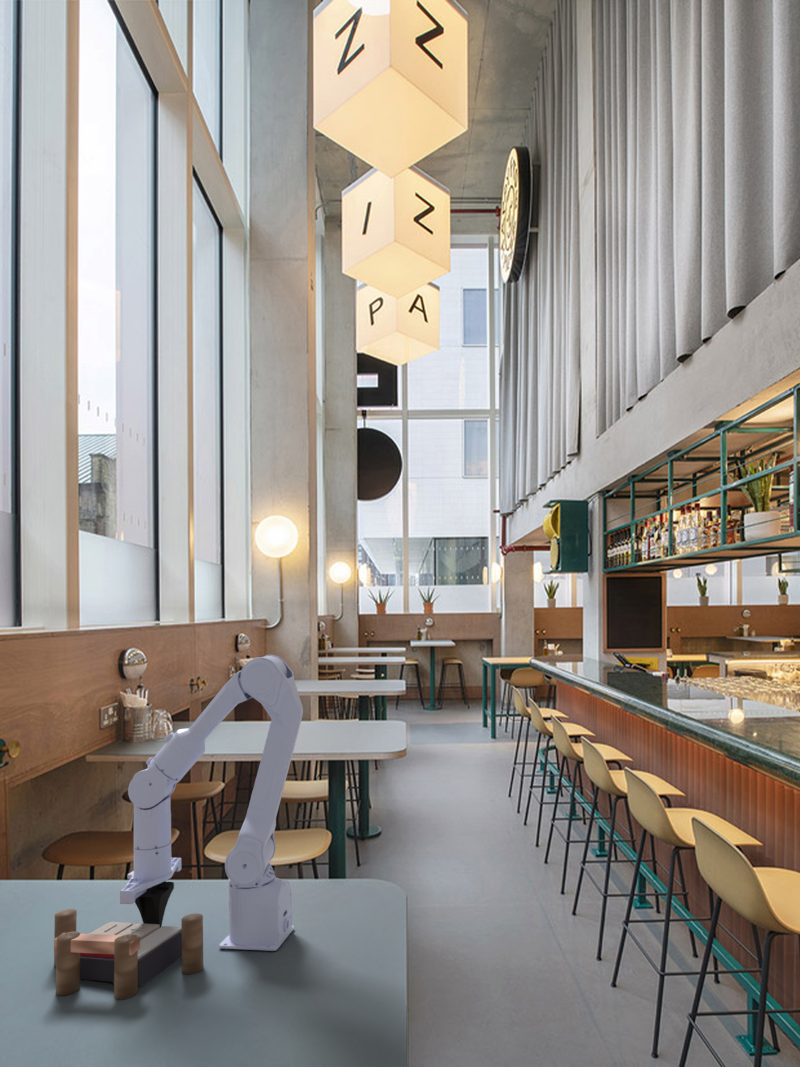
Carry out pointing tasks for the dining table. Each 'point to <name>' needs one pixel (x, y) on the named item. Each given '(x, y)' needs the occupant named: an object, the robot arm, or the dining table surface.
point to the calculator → (153, 955)
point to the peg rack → (115, 953)
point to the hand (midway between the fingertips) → (152, 934)
